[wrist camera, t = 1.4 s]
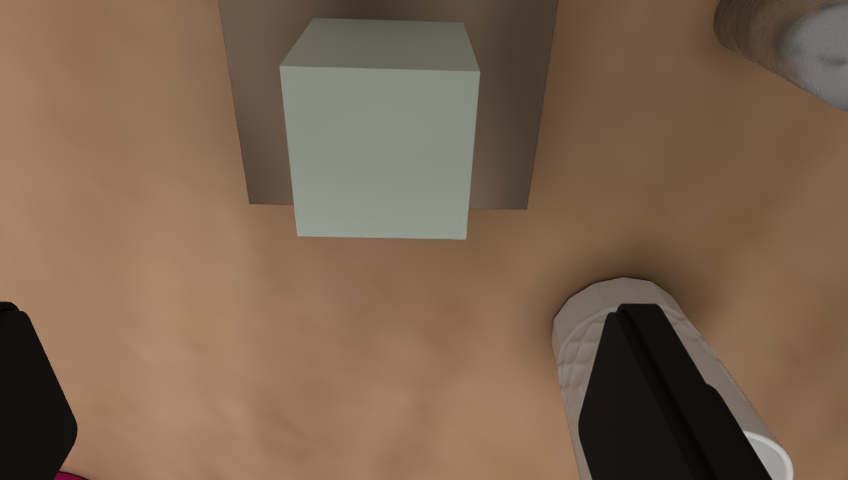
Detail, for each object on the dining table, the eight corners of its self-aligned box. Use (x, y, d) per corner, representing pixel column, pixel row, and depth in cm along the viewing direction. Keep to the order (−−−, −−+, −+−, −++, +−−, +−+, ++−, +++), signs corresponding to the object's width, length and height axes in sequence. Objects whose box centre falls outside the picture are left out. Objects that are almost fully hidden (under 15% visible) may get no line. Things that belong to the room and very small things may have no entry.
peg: (800, -25, 21) (948, 13, 15) (773, 51, 23) (898, 113, 17) (727, -27, 21) (847, 10, 15) (705, 49, 23) (806, 110, 17)
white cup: (517, 302, 30) (558, 471, 21) (666, 242, 28) (776, 402, 19) (568, 394, 33) (620, 568, 25) (702, 347, 32) (807, 518, 23)
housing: (463, 22, 20) (480, 71, 15) (454, 159, 23) (465, 239, 18) (313, 17, 20) (279, 66, 15) (322, 156, 23) (297, 236, 18)
